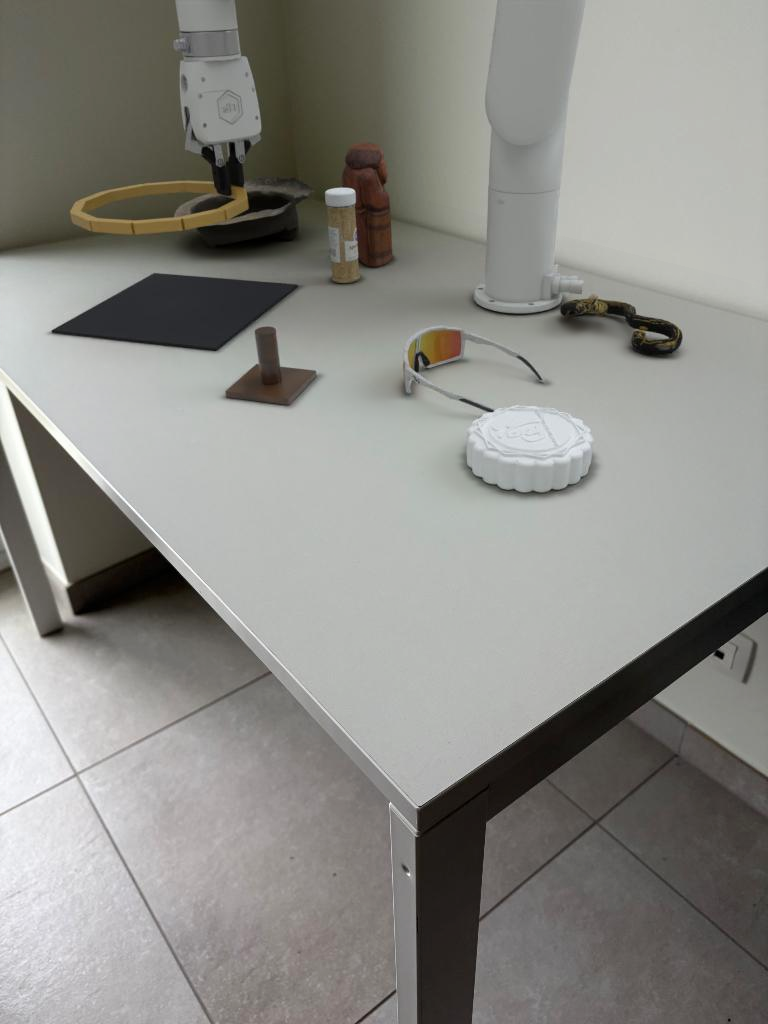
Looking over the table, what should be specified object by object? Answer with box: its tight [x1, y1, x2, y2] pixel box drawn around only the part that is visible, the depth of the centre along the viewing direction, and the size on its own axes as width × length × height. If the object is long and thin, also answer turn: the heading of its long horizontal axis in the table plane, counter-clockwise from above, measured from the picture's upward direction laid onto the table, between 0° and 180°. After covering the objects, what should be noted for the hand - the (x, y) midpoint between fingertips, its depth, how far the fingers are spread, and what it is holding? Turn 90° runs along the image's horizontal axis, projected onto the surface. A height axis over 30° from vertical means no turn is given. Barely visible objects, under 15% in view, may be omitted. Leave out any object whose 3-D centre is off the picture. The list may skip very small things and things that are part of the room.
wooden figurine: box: [341, 141, 393, 268], centre depth 130 cm, size 12×6×18 cm, turn 24°
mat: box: [51, 272, 299, 352], centre depth 118 cm, size 26×26×1 cm
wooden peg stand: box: [225, 326, 317, 406], centre depth 92 cm, size 8×8×7 cm
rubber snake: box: [559, 293, 684, 356], centre depth 103 cm, size 18×5×10 cm
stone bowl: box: [173, 176, 315, 248], centre depth 145 cm, size 25×25×9 cm
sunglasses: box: [402, 325, 546, 413], centre depth 92 cm, size 14×15×5 cm
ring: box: [69, 180, 249, 236], centre depth 110 cm, size 23×23×1 cm
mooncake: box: [465, 404, 595, 493], centre depth 77 cm, size 12×12×4 cm
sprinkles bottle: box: [324, 187, 361, 284], centre depth 123 cm, size 5×5×14 cm
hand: (230, 192), depth 116 cm, fingers closed on ring, 1 cm apart
